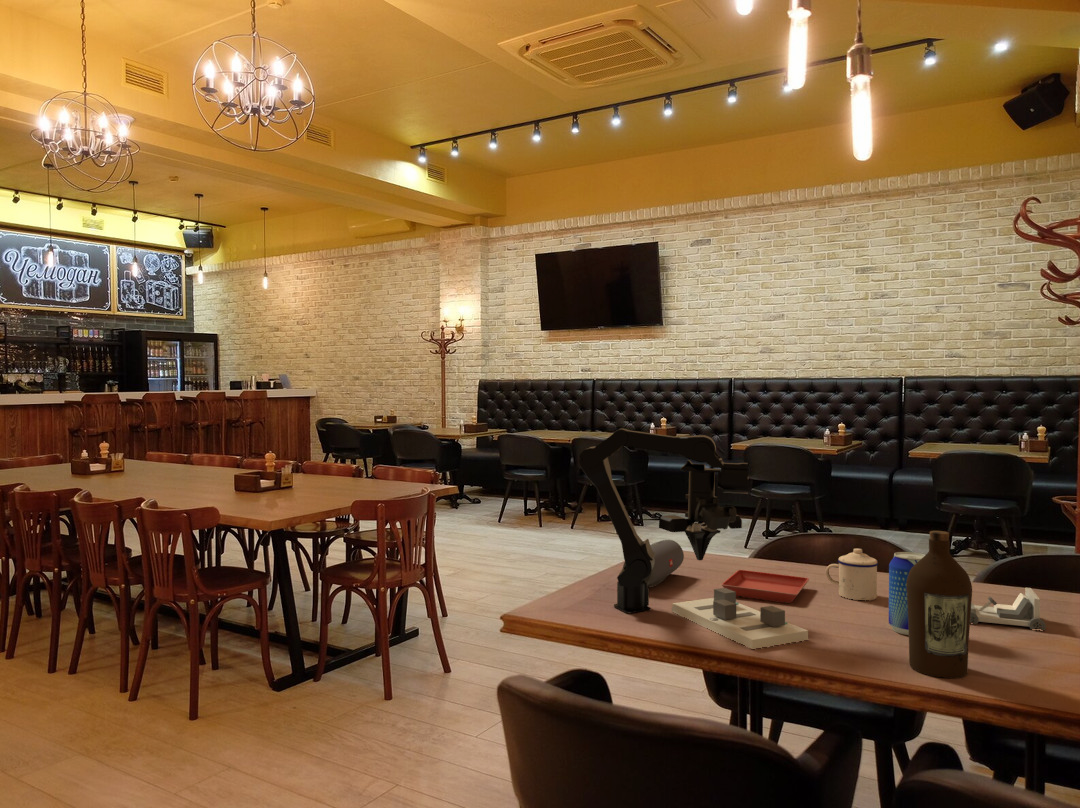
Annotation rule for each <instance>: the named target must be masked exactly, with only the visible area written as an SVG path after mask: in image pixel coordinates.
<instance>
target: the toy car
mask: <svg viewBox="0 0 1080 808" xmlns="http://www.w3.org/2000/svg"><path fill="white" fill-rule="evenodd" d="M1024 592H1025V594H1024V593H1021V592H1020V593H1019V594H1018V596H1017V597H1016V598H1015V600H1014V602H1013V603H1012V605H1011V604H1002V603H1001V604H1000V603H997V601H995V599H993V598H992V597H991V596H988V597H987V599H988V601H987V602H986V603H985V604H984V605H978V604H977V605H976V604H974V603H973V602H971V615H970V623H974V624H976V625H977V624H979V622H981V623H990V624H991V623H992V624H1000V625H1010V626H1019V627H1020V626H1021V627H1029V629H1030V630H1031V629H1041V630H1044V631H1045V630H1047V629H1046V628H1047V625H1046V623H1045V621H1044V620H1043V619H1041V618H1040V616H1041V599H1040V598H1039V596H1038V595H1037V594H1036V592H1035V591H1034V590H1033V589H1032V588H1031V587H1025V591H1024ZM991 604H992V605H993V606H990V605H991Z"/></svg>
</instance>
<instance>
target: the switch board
mask: <svg viewBox="0 0 1080 808" xmlns="http://www.w3.org/2000/svg"><path fill="white" fill-rule="evenodd" d="M713 601H714V597H709V598H701V599H694V600H689V601H680V602H673V603H672V604H671V605H672V608H671V612H672V613H673V612H674V614H675V613H676V614H675V615H677V614H678V615H677V616H680V617H681V618H684V617H685V618H684V619H686V618H687V619H686V620H688V619H689V621H690V620H691V622H692V621H693V622H692V623H694V622H695V623H694V624H696V623H697V624H696V625H699V626H701V627H703V628H705V629H707V628H708V629H707V630H709V629H710V631H711V630H712V631H711V632H713V631H714V633H715V632H716V634H718V633H719V634H718V635H720V634H721V635H720V636H722V635H723V636H722V637H724V636H725V637H724V638H726V637H727V638H726V639H728V638H730V639H731V641H732V640H734V641H736V642H735V643H737V642H738V643H737V644H739V643H741V644H743V645H745V646H747V647H749V648H752V649H755V648H761V649H763V648H762V647H767V648H769V647H768V646H773V645H779V644H784V643H790V644H792V643H791V642H796V643H798V642H797V641H802V642H804V641H803V640H808V641H809V630H808V629H805V628H802V627H800V626H798V625H795V624H792V623H789V622H788V621H785V625H783V626H776V627H772V626H770V625H767V624H765V623H763V622H760V610H758V609H755V608H752V607H749V606H747V605H745V604H742V603H739V602H737V601H736V618H734V619H727V620H724V619H722V618H719V617H717V616H715V615H713ZM730 639H729V640H730ZM734 641H733V642H734ZM741 644H740V645H741ZM743 645H742V646H743ZM784 645H785V644H784ZM745 646H744V647H745ZM779 646H780V645H779ZM747 647H746V648H747ZM773 647H774V646H773ZM749 648H748V649H749ZM755 650H756V649H755Z"/></svg>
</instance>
